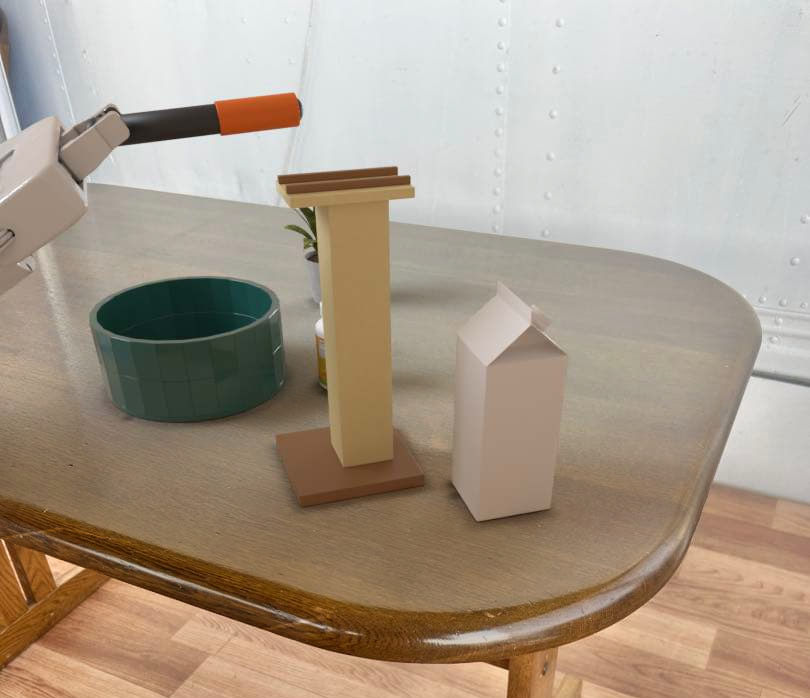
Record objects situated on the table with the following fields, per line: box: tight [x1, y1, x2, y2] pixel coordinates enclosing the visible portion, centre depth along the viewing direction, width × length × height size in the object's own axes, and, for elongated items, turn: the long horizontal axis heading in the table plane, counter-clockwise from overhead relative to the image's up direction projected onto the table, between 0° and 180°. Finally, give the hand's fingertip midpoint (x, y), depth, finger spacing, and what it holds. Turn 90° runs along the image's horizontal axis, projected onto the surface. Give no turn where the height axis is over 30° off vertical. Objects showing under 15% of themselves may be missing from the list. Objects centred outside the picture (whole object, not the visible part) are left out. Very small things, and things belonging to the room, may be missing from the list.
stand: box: [275, 165, 425, 508], centre depth 72 cm, size 12×12×27 cm
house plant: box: [283, 207, 321, 306], centre depth 111 cm, size 14×14×16 cm
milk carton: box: [451, 281, 569, 522], centre depth 70 cm, size 7×7×19 cm
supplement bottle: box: [314, 301, 328, 391], centre depth 92 cm, size 5×5×10 cm
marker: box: [84, 91, 304, 148], centre depth 60 cm, size 16×2×2 cm, turn 108°
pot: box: [88, 275, 287, 423], centre depth 93 cm, size 21×21×9 cm
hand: (122, 117), depth 58 cm, fingers closed on marker, 2 cm apart
